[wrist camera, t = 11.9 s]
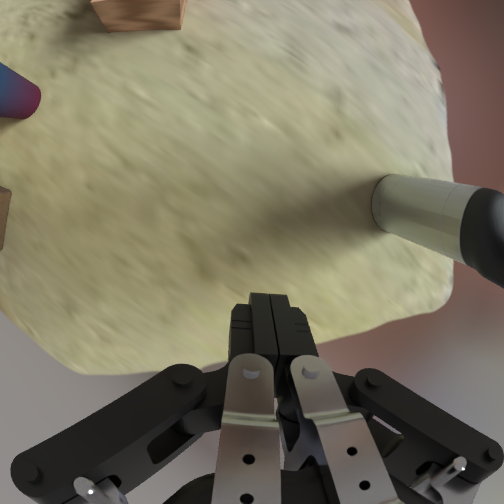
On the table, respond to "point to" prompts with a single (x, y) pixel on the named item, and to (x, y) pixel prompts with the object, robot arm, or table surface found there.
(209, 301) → the table surface
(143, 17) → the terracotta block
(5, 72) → the cup
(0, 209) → the wooden block
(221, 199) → the table surface
